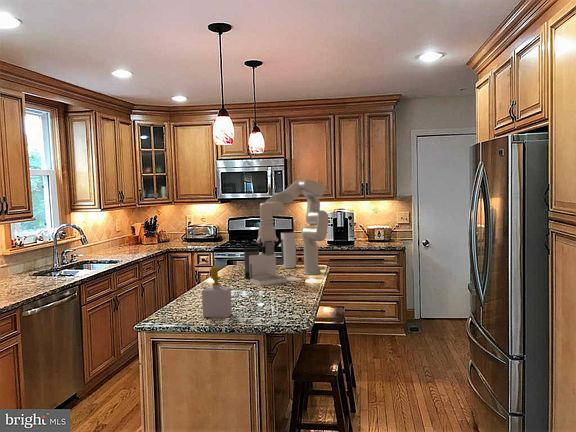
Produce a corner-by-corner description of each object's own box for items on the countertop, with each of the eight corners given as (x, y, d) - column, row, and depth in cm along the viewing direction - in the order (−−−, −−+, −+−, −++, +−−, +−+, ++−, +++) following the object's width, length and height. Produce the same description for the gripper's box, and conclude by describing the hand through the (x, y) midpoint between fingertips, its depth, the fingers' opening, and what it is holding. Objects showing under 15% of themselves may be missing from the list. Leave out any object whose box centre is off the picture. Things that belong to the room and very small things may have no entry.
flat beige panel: (293, 277, 316) (293, 276, 316) (303, 280, 306) (303, 279, 306) (280, 279, 312) (279, 278, 312) (289, 282, 301) (289, 281, 301)
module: (269, 253, 305) (268, 240, 304) (274, 254, 298) (273, 241, 298) (262, 254, 302) (261, 241, 302) (267, 255, 296) (266, 242, 295)
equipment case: (276, 279, 312) (275, 252, 311) (287, 283, 299) (286, 255, 298) (250, 283, 303) (249, 255, 302) (260, 286, 291) (259, 258, 290)
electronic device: (260, 278, 319) (259, 247, 318) (259, 279, 313) (258, 248, 312) (246, 278, 320) (245, 247, 319) (244, 279, 314) (243, 248, 313)
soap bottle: (232, 314, 230) (230, 264, 228) (228, 318, 223) (226, 267, 222) (207, 314, 232) (205, 264, 230) (202, 317, 225) (200, 267, 224)
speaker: (282, 266, 363) (281, 231, 361) (296, 266, 362) (295, 230, 360) (281, 268, 352) (280, 232, 351) (295, 268, 351) (294, 232, 349)
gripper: (276, 221, 306) (277, 250, 308) (251, 223, 298) (252, 253, 299) (281, 222, 300) (283, 251, 301) (256, 224, 292) (258, 254, 293)
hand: (268, 252), depth 300 cm, fingers closed on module, 5 cm apart
